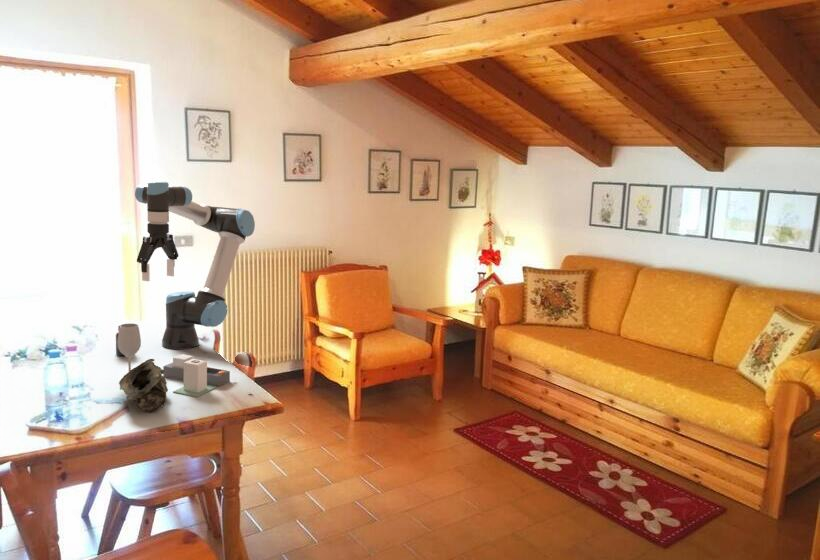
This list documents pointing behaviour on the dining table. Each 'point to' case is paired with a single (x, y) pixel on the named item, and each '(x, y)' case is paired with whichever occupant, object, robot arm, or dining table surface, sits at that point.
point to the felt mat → (194, 394)
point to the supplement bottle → (117, 346)
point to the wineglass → (129, 341)
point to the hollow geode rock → (145, 386)
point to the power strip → (213, 375)
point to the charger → (195, 375)
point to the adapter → (181, 361)
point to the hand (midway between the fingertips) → (158, 278)
